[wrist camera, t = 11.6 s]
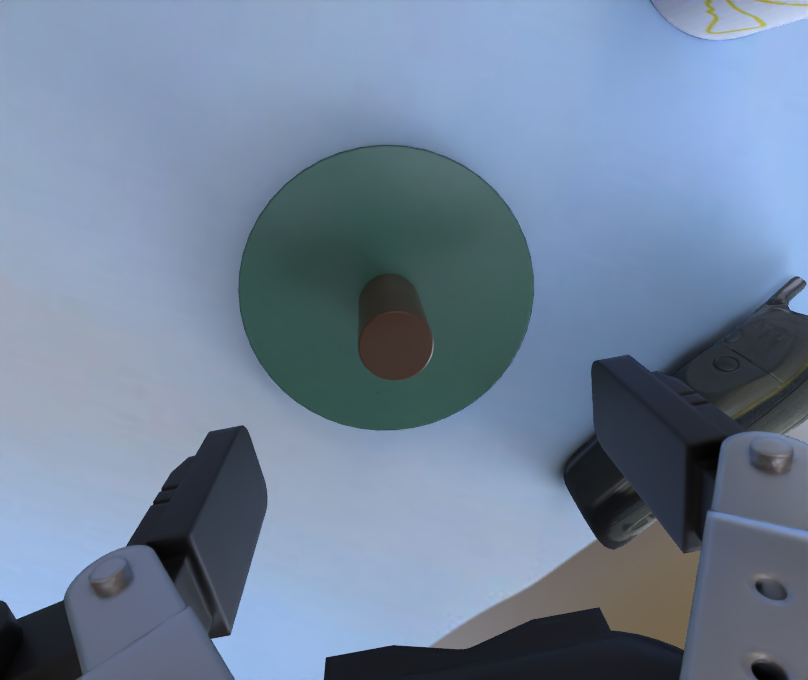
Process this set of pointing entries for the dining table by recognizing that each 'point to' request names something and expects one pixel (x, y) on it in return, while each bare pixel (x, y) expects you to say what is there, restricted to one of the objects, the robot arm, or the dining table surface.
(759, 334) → the mobile phone
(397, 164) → the pot lid
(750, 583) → the robot arm
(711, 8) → the cup
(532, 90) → the dining table surface
